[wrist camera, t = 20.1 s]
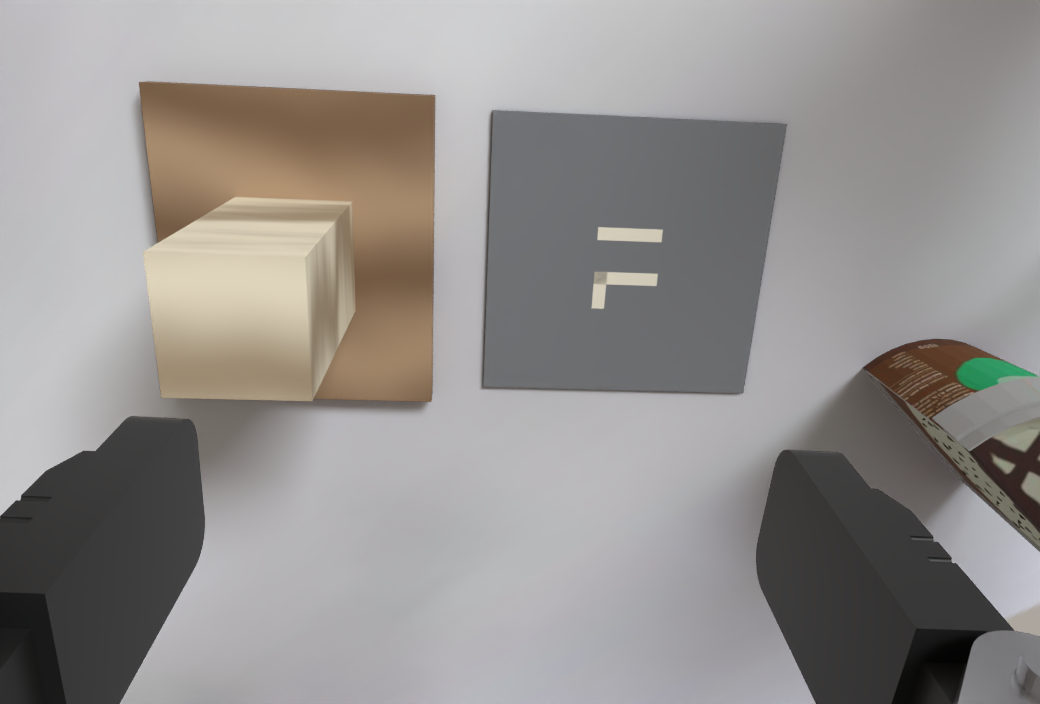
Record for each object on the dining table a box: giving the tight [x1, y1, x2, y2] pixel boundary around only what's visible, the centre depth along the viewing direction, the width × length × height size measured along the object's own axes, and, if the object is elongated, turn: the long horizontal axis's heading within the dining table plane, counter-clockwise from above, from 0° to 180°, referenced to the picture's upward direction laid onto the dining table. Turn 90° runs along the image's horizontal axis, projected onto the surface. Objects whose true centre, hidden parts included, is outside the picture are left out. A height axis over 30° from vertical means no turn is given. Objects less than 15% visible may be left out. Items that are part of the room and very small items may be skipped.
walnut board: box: [139, 81, 435, 402], centre depth 35 cm, size 14×12×1 cm
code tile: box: [483, 110, 787, 393], centre depth 37 cm, size 13×13×1 cm
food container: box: [863, 339, 1040, 552], centre depth 35 cm, size 12×6×10 cm, turn 44°
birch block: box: [143, 197, 356, 401], centre depth 30 cm, size 5×5×10 cm
